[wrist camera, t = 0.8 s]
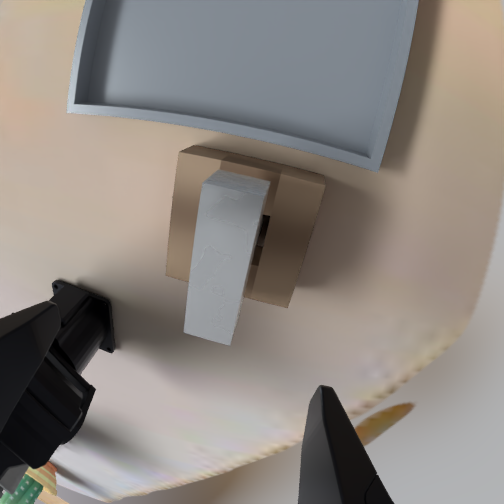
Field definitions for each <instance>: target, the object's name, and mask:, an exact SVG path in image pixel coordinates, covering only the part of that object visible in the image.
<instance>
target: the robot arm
mask: <svg viewBox="0 0 504 504" xmlns="http://www.w3.org/2000/svg"><path fill="white" fill-rule="evenodd" d="M52 288H53V293H54V296H53V297H52V298H51V299H50V300H49V301H44V302H42V303H39V304H37V305H34V306H31V307H29V308H26V309H24V310H21V311H19V312H16V313H12V314H11V315H8V316H6V317H3V318H1V319H0V480H1V479H2V477H3V476H4V475H5V473H6V472H7V471H8V470H9V469H10V468H15V467H19V466H24V465H28V466H30V467H31V468H32V469H37V468H40V467H42V466H44V465H46V463H47V462H48V460H49V459H50V457H51V456H52V454H53V453H54V452H55V450H56V449H57V448H58V446H59V445H62V444H65V443H67V442H68V441H70V440H71V439H72V438H73V437H74V436H75V435H76V433H77V432H78V431H79V429H80V428H81V426H82V424H83V422H84V419H85V417H86V414H87V411H88V409H89V406H90V403H91V401H92V398H93V396H94V393H95V391H96V389H95V388H94V387H93V386H92V385H90V384H89V383H88V382H87V381H86V380H85V379H84V378H83V377H82V376H81V375H80V374H81V373H82V371H83V370H84V369H85V367H86V366H87V364H88V363H89V361H90V360H91V359H92V357H93V356H94V354H95V353H96V352H97V350H98V349H102V350H104V351H106V352H109V353H113V352H114V350H115V342H114V332H113V322H112V310H111V303H110V301H109V300H108V299H106V298H104V297H101V296H98V295H95V294H93V293H90V292H87V291H85V290H82V289H79V288H77V287H74V286H71V285H69V284H66V283H64V282H61V281H59V280H55V281H54V282H53V283H52ZM104 303H105V304H106V305H105V304H104ZM376 474H377V472H376V470H375V468H374V466H373V464H372V462H371V460H370V458H369V456H368V454H367V453H366V451H365V449H364V447H363V445H362V443H361V441H360V439H359V437H358V435H357V433H356V431H355V429H354V427H353V425H352V424H351V422H350V420H349V418H348V416H347V414H346V412H345V410H344V408H343V406H342V404H341V402H340V401H339V399H338V397H337V395H336V393H335V391H334V389H333V388H332V387H329V386H324V385H320V386H319V387H318V388H317V390H316V392H315V393H314V395H313V397H312V399H311V401H310V404H309V409H308V415H307V421H306V426H305V432H304V438H303V444H302V452H301V468H300V483H299V496H298V497H299V498H298V504H394V502H393V501H392V499H391V498H390V496H389V495H388V492H387V491H386V489H385V487H384V485H383V483H382V481H381V480H380V478H379V476H378V475H376Z"/></svg>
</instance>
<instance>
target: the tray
mask: <svg viewBox="0 0 504 504" xmlns="http://www.w3.org/2000/svg"><path fill="white" fill-rule="evenodd" d="M418 2H419V0H86V1H85V5H84V9H83V13H82V18H81V22H80V26H79V31H78V36H77V41H76V46H75V52H74V58H73V64H72V70H71V77H70V85H69V93H68V103H67V113H77V114H91V115H103V116H113V117H123V118H131V119H140V120H148V121H155V122H162V123H169V124H176V125H182V126H188V127H194V128H200V129H206V130H211V131H217V132H222V133H227V134H232V135H237V136H242V137H246V138H251V139H256V140H260V141H265V142H269V143H273V144H278V145H282V146H286V147H290V148H294V149H298V150H302V151H306V152H309V153H313V154H317V155H320V156H324V157H328V158H331V159H335V160H338V161H342V162H345V163H348V164H352V165H355V166H358V167H361V168H365V169H368V170H371V171H374V172H377V173H378V171H379V168H380V164H381V161H382V158H383V154H384V151H385V148H386V144H387V141H388V137H389V134H390V130H391V126H392V123H393V119H394V115H395V111H396V107H397V104H398V100H399V96H400V91H401V87H402V83H403V79H404V74H405V70H406V66H407V61H408V56H409V51H410V47H411V41H412V36H413V31H414V26H415V20H416V14H417V8H418Z"/></svg>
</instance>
